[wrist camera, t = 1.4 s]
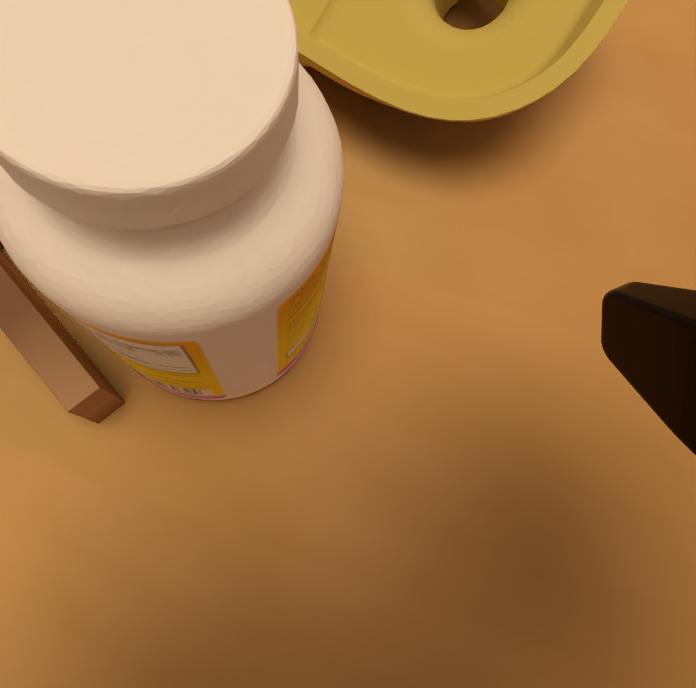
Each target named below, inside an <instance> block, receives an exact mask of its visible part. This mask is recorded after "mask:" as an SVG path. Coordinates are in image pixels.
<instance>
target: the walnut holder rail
mask: <svg viewBox="0 0 696 688" xmlns="http://www.w3.org/2000/svg"><path fill="white" fill-rule="evenodd" d="M3 247H4V246H3V244H2V243H1V241H0V249H2V248H3ZM0 328H1V329H2V330H3V332H4V333H5V334H6V335H7V337H8V338H9V339H10V340H11V342H12V343H13V344H14V345H15V347H16V348H17V349H18V350H19V352H20V353H21V354H22V355H23V357H24V358H25V359H26V360H27V362H28V363H29V364H30V365H31V367H32V368H33V369H34V370H35V371H36V373H37V374H38V375H39V376H40V378H41V379H42V380H43V381H44V383H45V384H46V385H47V386H48V388H49V389H50V390H51V391H52V393H53V394H54V395H55V396H56V398H57V399H58V400H59V401H60V403H61V404H62V405H63V406H64V408H65V409H66V410H67V411H68V412H70V413H72V414H75V415H78V416H80V417H83V418H86V419H88V420H91V421H93V422H96V423H99V422H101V421H102V420H103V419H104V418H106V417H107V416H108V415H110V414H111V413H112V412H114V411H115V410H116V409H117V408H119V407H120V406H121V405H123V404H124V403H125V402H124V401H123V399H122V398H121V397H120V396H119V395H118V393H117V392H116V391H115V390H114V388H113V387H112V386H111V385H110V383H109V382H108V381H107V380H106V379H105V377H104V376H103V375H102V374H101V372H100V371H99V370H98V369H97V368H96V366H95V365H94V364H93V363H92V361H91V360H90V359H89V358H88V356H87V355H86V354H85V353H84V352H83V350H82V349H81V348H80V347H79V345H78V344H77V343H76V342H75V341H74V339H73V338H72V337H71V336H70V334H69V333H68V332H67V331H66V329H65V328H64V327H63V326H62V325H61V323H60V322H59V321H58V320H57V318H56V317H55V316H54V315H53V314H52V312H51V311H50V310H49V309H48V307H47V306H46V305H45V304H44V302H43V301H42V300H41V299H40V298H39V296H38V295H37V294H36V293H35V291H34V290H33V289H32V288H31V286H30V285H29V284H28V283H27V282H26V280H25V279H24V278H23V277H22V275H21V274H20V273H19V272H18V271H17V269H16V268H15V267H14V266H13V264H12V263H11V262H10V261H9V259H8V258H7V257H6V256H5V255H4V253H3V252H2V251H1V250H0Z"/></svg>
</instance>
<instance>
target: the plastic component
mask: <svg viewBox="0 0 696 688" xmlns="http://www.w3.org/2000/svg"><path fill="white" fill-rule="evenodd" d="M458 1H459V0H289V3H290V6H291V8H292V11H293V15H294V19H295V23H296V28H297V36H298V59H299V63H300V64H301V65H303V66H311V67H313V68H314V69H316V70H317V71H319V72H320V73H322V74H323V75H325V76H327V77H329V78H330V79H332V80H334V81H336V82H337V83H339V84H341V85H343V86H344V87H346V88H348V89H350V90H352V91H354V92H356V93H358V94H360V95H362V96H365V97H368V98H370V99H373V100H375V101H378V102H380V103H383V104H385V105H388V106H391V107H393V108H396V109H399V110H401V111H404V112H407V113H411V114H414V115H417V116H421V117H425V118H430V119H436V120H443V121H456V122H474V121H484V120H489V119H494V118H498V117H502V116H505V115H507V114H510V113H513V112H516V111H518V110H520V109H522V108H524V107H527V106H529V105H530V104H532V103H534V102H536V101H538V100H539V99H541V98H543V97H545V96H546V95H548V94H549V93H550V92H552V91H553V90H555V89H556V88H557V87H558V86H560V85H561V84H562V83H563V82H564V81H565V80H567V79H568V78H569V77H570V76H571V75H572V74H573V73H574V72H575V71H576V70H577V69H578V68H579V67H580V66H581V64H582V63H583V62H584V61H585V60H586V59H587V58H588V57H589V55H590V54H591V53H592V52H593V51H594V50H595V49H596V47H597V46H598V45H599V43H600V42H601V41H602V39H603V38H604V37H605V35H606V34H607V32H608V31H609V29H610V28H611V26H612V25H613V23H614V22H615V21H616V19H617V18H618V16H619V15H620V13H621V12H622V10H623V9H624V7H625V6H626V4H627V2H628V1H629V0H494V1H495V2H496V3H497V4H498V5H499V6H500V8H501V9H502V10H503V11H502V12H501V13H500V15H499V16H498V17H497V18H496V19H495V20H493V21H492V22H490V23H489V24H487V25H485V26H483V27H481V28H477V29H471V30H462V29H458V28H455V27H452V26H450V25H449V24H447V23H446V22H444V21H443V19H444V16H445V15H446V13H447V12H448V10H449V9H450V8H451V7H452V6H453V5H454V4H456V3H457V2H458Z"/></svg>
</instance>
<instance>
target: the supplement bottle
mask: <svg viewBox="0 0 696 688" xmlns="http://www.w3.org/2000/svg"><path fill="white" fill-rule="evenodd" d="M343 184H344V163H343V154H342V146H341V140H340V136H339V133H338V129H337V126H336V123H335V120H334V118H333V115H332V113H331V111H330V109H329V107H328V105H327V102H326V101H325V99H324V97H323V95H322V93H321V91H320V90H319V88H318V87H317V85H316V84H315V82H314V81H313V79H312V77H311V76H310V75H309V74H308V73H307V71H306V70H305V69H304V68H303V67H302V65H301V64H300V63H299V59H298V36H297V28H296V23H295V19H294V15H293V11H292V8H291V6H290V3H289V0H0V241H1V243H2V244H3V246H4V248H5V249H6V251H7V253H8V254H9V256H10V258H11V259H12V261H13V262H14V263H15V265H16V266H17V268H18V269H19V270H20V271H21V272H22V273H23V275H24V276H25V277H26V278H27V279H28V280H29V281H30V282H31V283H32V284H33V285H34V286H35V287H36V288H37V289H38V290H39V291H40V292H41V293H43V294H44V295H45V296H46V297H47V298H48V299H50V300H51V301H52V302H53V303H54V304H55V305H57V306H58V307H59V308H60V309H62V310H63V311H64V312H66V313H67V314H68V315H69V316H71V317H72V318H73V319H74V320H75V321H77V322H78V323H79V324H80V325H82V326H83V327H84V328H85V329H86V330H88V331H89V332H90V333H91V334H92V335H93V336H95V337H96V338H97V339H98V340H99V341H100V342H102V343H103V344H104V345H105V346H107V347H108V348H109V349H110V350H111V351H112V352H114V353H115V354H116V355H117V356H118V357H119V358H121V359H122V360H123V361H124V362H126V363H127V364H128V365H129V366H130V367H132V368H133V369H134V370H135V371H137V372H138V373H139V374H141V375H142V376H143V377H145V378H146V379H147V380H149V381H151V382H152V383H154V384H156V385H157V386H159V387H161V388H163V389H165V390H167V391H169V392H172V393H175V394H177V395H180V396H184V397H189V398H194V399H201V400H223V399H231V398H237V397H241V396H244V395H247V394H250V393H253V392H256V391H258V390H260V389H262V388H264V387H265V386H267V385H269V384H271V383H272V382H274V381H275V380H276V379H278V378H279V377H281V376H282V375H283V374H284V373H285V372H286V371H287V370H288V369H289V368H290V367H291V366H292V365H293V364H294V363H295V362H296V361H297V359H298V358H299V357H300V355H301V354H302V352H303V351H304V349H305V347H306V345H307V344H308V342H309V340H310V337H311V335H312V333H313V330H314V327H315V323H316V320H317V316H318V311H319V307H320V302H321V298H322V292H323V288H324V283H325V278H326V273H327V268H328V263H329V259H330V254H331V249H332V244H333V240H334V235H335V230H336V226H337V222H338V217H339V213H340V207H341V201H342V194H343Z"/></svg>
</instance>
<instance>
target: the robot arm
mask: <svg viewBox="0 0 696 688" xmlns="http://www.w3.org/2000/svg"><path fill="white" fill-rule="evenodd" d="M601 343H602V347H603V350H604V352H605V354H606V356H607V357H608V359H609V360H610V361H611V362H612V363H613V364H614V366H615V367H616V368H617V369H618V370H619V371H620V373H621V374H622V375H623V376H624V377H625V378H626V379H627V381H628V382H629V383H630V384H631V385H632V386H633V388H634V389H635V390H636V391H637V392H638V393H639V394H640V396H641V397H642V398H643V399H644V400H645V401H646V402H647V404H648V405H649V406H650V407H651V408H652V409H653V411H654V412H655V413H656V414H657V415H658V416H659V417H660V419H661V420H662V421H663V422H664V423H665V424H666V425H667V427H668V428H669V429H670V430H671V431H672V432H673V433H674V434H675V435H676V436H677V437H678V438H679V439H680V440H681V441H682V442H683V443H684V444H685V445H686V446H687V447H688V448H689V449H690V450H691V451H692V452H693V453H694V454H695V455H696V290H689V289H682V288H675V287H668V286H661V285H655V284H648V283H641V282H630V283H627V284H625V285H622V286H620V287H618V288H615V289H613V290H611V291H609V292H608V293H606V294H605V296H604V298H603V301H602V328H601Z"/></svg>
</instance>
